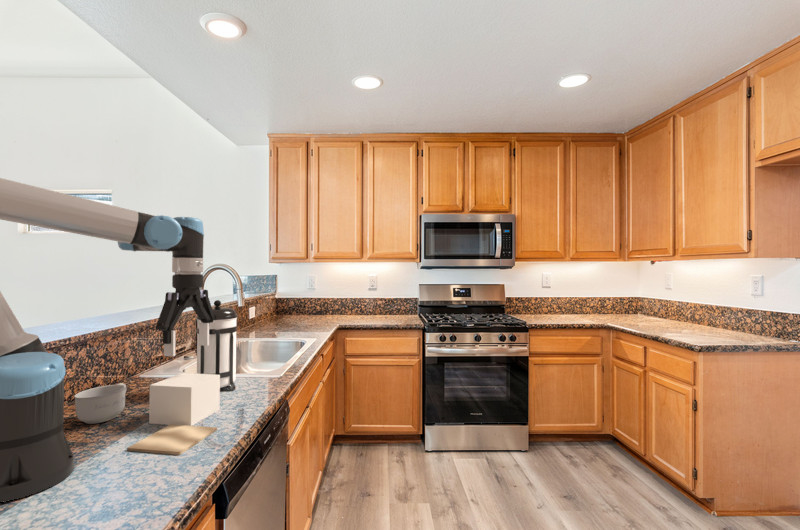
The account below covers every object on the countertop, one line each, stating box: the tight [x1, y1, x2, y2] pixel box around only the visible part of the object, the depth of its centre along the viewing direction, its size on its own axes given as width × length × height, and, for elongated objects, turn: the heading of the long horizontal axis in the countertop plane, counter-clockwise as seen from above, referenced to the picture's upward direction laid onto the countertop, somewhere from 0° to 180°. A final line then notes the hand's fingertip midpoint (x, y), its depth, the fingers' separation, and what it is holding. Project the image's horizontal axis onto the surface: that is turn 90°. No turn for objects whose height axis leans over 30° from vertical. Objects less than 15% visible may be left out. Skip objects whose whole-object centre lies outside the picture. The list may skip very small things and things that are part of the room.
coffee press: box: [195, 299, 239, 391], centre depth 128 cm, size 17×16×30 cm
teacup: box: [73, 382, 127, 425], centre depth 103 cm, size 14×11×8 cm
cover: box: [148, 372, 221, 426], centre depth 104 cm, size 12×12×10 cm
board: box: [126, 424, 218, 456], centre depth 90 cm, size 13×13×1 cm
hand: (187, 350), depth 104 cm, fingers open, 13 cm apart
